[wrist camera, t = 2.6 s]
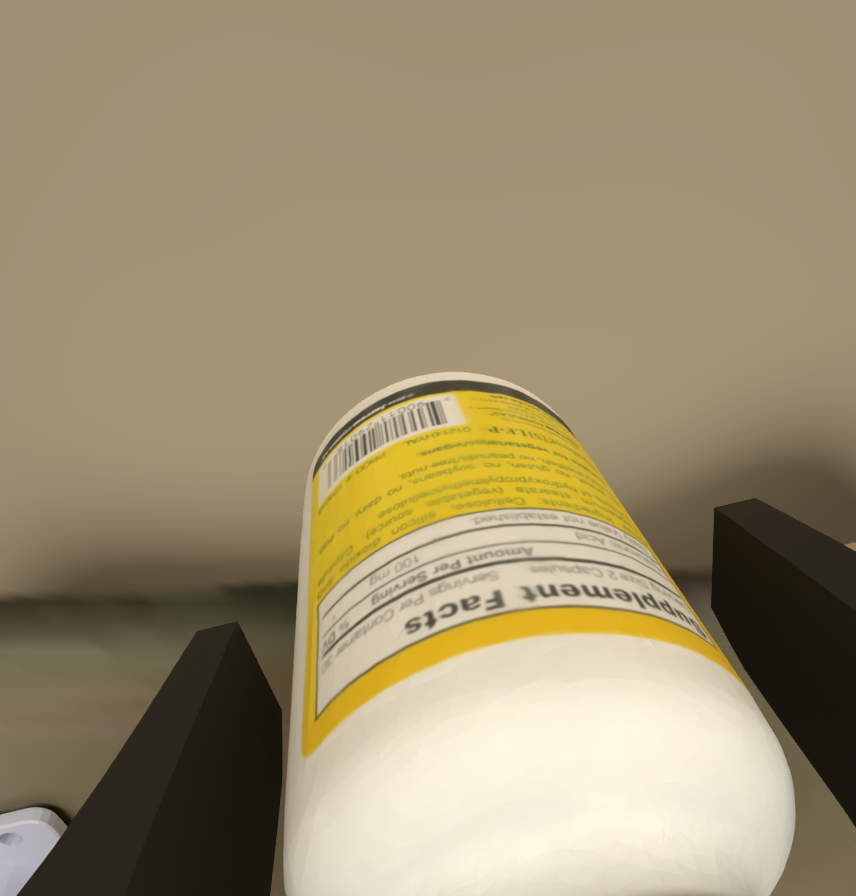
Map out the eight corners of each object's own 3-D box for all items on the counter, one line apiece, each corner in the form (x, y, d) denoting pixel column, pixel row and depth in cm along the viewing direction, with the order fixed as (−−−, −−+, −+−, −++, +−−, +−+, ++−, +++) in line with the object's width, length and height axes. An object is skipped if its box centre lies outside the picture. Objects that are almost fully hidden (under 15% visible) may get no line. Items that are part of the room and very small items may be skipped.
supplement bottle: (516, 612, 15) (756, 1338, 6) (276, 568, 13) (169, 1434, 5) (627, 404, 12) (1255, 1126, 4) (349, 324, 11) (388, 1183, 2)
